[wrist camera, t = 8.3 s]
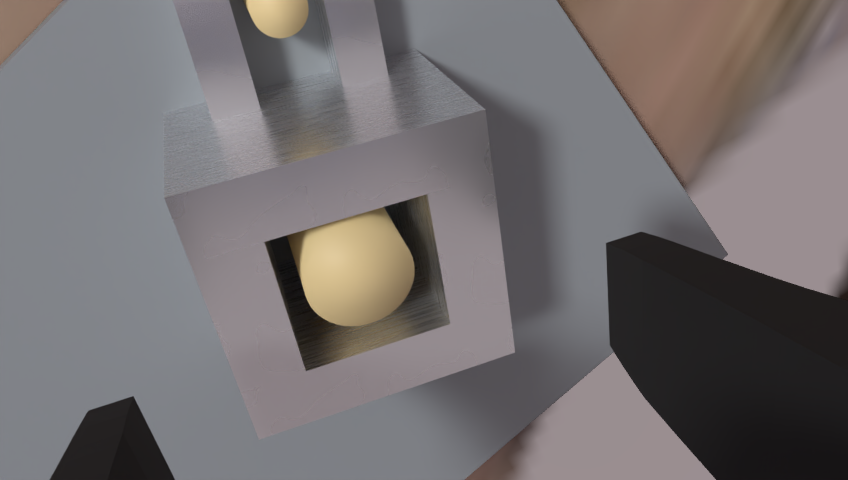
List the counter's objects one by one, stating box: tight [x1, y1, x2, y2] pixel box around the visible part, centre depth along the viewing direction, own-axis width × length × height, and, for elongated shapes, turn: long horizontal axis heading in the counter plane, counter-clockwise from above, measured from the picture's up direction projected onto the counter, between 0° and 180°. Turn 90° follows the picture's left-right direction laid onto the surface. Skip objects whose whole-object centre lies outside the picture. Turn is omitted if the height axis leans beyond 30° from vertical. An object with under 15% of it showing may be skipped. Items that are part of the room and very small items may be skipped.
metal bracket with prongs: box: [163, 0, 515, 440], centre depth 14 cm, size 8×5×4 cm, turn 9°
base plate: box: [0, 0, 728, 480], centre depth 17 cm, size 20×16×5 cm
